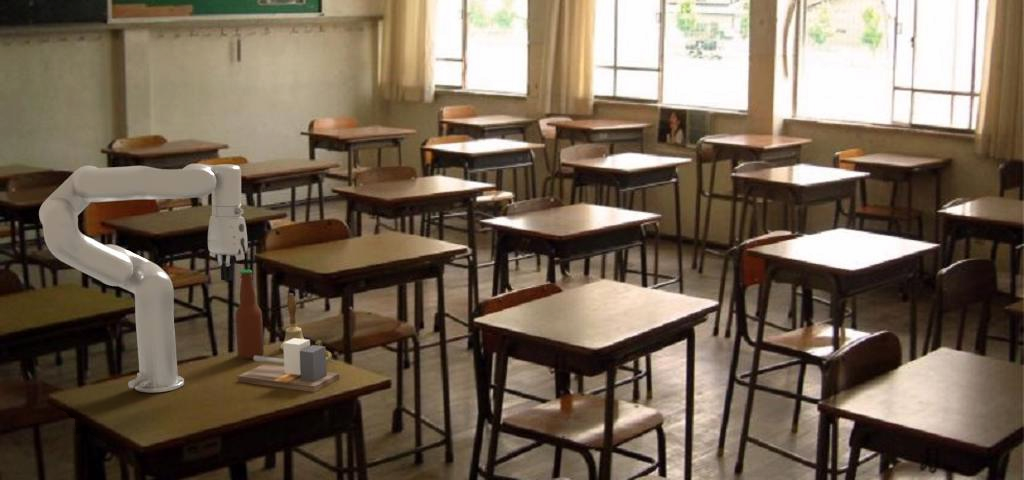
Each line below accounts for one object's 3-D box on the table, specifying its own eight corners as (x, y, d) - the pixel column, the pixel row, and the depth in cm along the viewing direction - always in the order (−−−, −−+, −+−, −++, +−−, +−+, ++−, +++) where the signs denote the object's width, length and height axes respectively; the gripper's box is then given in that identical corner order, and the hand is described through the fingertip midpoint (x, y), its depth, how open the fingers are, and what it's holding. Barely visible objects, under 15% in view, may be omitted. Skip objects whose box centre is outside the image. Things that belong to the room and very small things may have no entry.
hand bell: (285, 352, 358) (282, 298, 355) (276, 345, 365) (273, 292, 362) (312, 348, 362) (310, 294, 359) (303, 341, 369) (301, 289, 366)
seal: (326, 371, 344) (335, 355, 359) (327, 355, 343) (336, 339, 358) (292, 368, 344) (303, 352, 359) (293, 351, 343) (304, 336, 358)
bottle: (267, 353, 358) (262, 267, 353) (259, 360, 350) (254, 273, 346) (242, 352, 358) (238, 267, 354) (234, 359, 351) (229, 273, 347)
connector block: (314, 382, 325) (312, 352, 323) (301, 380, 326) (299, 350, 325) (326, 375, 330) (325, 346, 329) (313, 374, 332) (312, 345, 330)
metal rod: (305, 367, 328) (305, 362, 328) (253, 361, 335) (253, 356, 334) (308, 366, 329) (308, 361, 329) (256, 359, 336) (256, 354, 336)
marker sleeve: (300, 375, 327) (299, 344, 325) (284, 372, 329) (283, 342, 327) (311, 369, 331) (309, 339, 330) (295, 367, 333) (293, 338, 332)
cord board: (314, 392, 321) (314, 385, 321) (237, 381, 331) (237, 375, 331) (339, 378, 332) (339, 372, 332) (264, 369, 342) (264, 363, 342)
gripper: (258, 212, 328) (258, 280, 332) (213, 207, 335) (214, 274, 338) (240, 215, 322) (240, 285, 325) (194, 210, 328) (195, 278, 331)
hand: (227, 279), depth 331 cm, fingers closed
